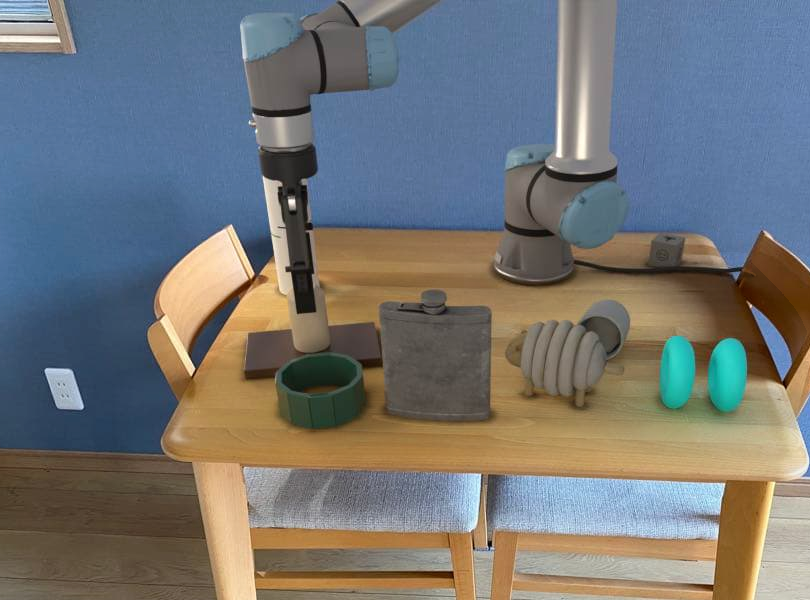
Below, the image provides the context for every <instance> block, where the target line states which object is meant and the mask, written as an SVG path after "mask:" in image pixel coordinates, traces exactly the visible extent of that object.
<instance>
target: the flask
mask: <svg viewBox="0 0 810 600" xmlns="http://www.w3.org/2000/svg"><path fill="white" fill-rule="evenodd" d="M447 301H448V294H447V292H446V291H444V290H442V289H436V288H435V289H427V290H424V291H422V292H421V293H420V302H410V301H409V302H408V301H407V302H406V301H396V300H395V301H394V300H387V301H383V302H380V304H379V305H378V316H379V329H380V343H381V358H382V366H383V367H382V369H383V382H384V394H385V408H386V412H387V414H389V415H391V416H397V417H403V418H409V419H415V420H416V419H418V420H428V421H444V422H477V421H478V422H479V421H485V420H488V419H489V418H490V416H491V381H492V380H491V378H492V377H491V375H492V374H491V372H492V369H491V368H492V315H493V314H492V313H493V311H492V308H491V307H489V306H486V305H446V302H447Z"/></svg>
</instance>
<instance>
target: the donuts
mask: <svg viewBox="0 0 810 600" xmlns="http://www.w3.org/2000/svg"><path fill="white" fill-rule="evenodd" d="M746 353H747V352H746V349H745V347H744V345H743V344H742V342H741V341H740V340H739V339H737V338H733V337H728V338H724V339H722V340H721V341H720V342H719V343H718V344H717V345H715V347H714V349H713V351H712V354H711V356H710V360H709V364H708V372H707V387H708V388H707V389H708V394H709V398H710V400H711V403H712V404H713V406H714V407H715V408H716V409H718V410H719V411H721V412H724V413H729V412H732V411H734V410H736V409H737V408H738V407H739V406H740V404H741V402H742V400H743V397H744V394H745V391H746V390H745V389H746V385H747V375H748V359H747V354H746ZM659 370H660V371H659V392H660V398H661V401H662V403H663V404H664V405H665V407H667V408H669V409H672V410H673V409H674V410H675V409H679V408H681V407H683V406H684V405H685V404H686V403H687V402H688V401H689V399H690V397H691V395H692V392H693V389H694V385H695V384H694V383H695V376H696V356H695V352H694V348H693V346H692V344H691V342H690V341H689V340H688V339H687V337H684V336H682V335H672V336H671V337H669V338H668V339H667V340H666V342H665V343H664V347H663V350H662V354H661V360H660V369H659Z"/></svg>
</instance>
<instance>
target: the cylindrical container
mask: <svg viewBox="0 0 810 600" xmlns="http://www.w3.org/2000/svg"><path fill="white" fill-rule="evenodd" d="M260 147H261V146H260V145H259V146H258V150H259V148H260ZM261 176H262V182H263V188H264V196H265V202H266V209H267V216H268V221H269V229H270V236H271V242H272V246H273V247H272V249H273V255H274V261H275V268H276V274H277V281H278V288H279V292H280V293H281V294H283V295H285V296H287V293H288V292H289V291H290V290H291V289H292V288H293V283H292V277H291V272H286V270H285V267H287V266H290V261H289V253H288V244H287V236H286V227H285V224H284V223H283V220H282V214H281V206H280V205H279V201H278V193H277V192H278V186H282V182H280V181H277V180H275V181H273V180H269V179H267V178H265V177H264V176H263V175H262V174H261ZM302 185H307V192H308V204H307V205H308V206H307V212H308V222H307V223H312V224H313V219H312V211H311V203H310V202H311V201H310V193H309V186H308V185H309V184H308V179H302ZM306 232H309V234H310V242H311V250H312V258H313V266H314V274H312V280H313V283H315V284H316V285H317V286H319V287H320V286H321V285H320V277H319V269H318V262H317V253H316V252H317V251H316V245H315V236H314V229H313V230H308V231H306ZM294 263H295V262H294ZM320 288H321V287H320Z"/></svg>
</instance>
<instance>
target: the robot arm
mask: <svg viewBox="0 0 810 600" xmlns="http://www.w3.org/2000/svg"><path fill="white" fill-rule="evenodd" d="M618 1H619V0H557V12H556V14H557V15H556V18H557V19H556V58H555V59H556V63H555V67H556V68H555V115H554V119H555V122H554V143H533V144H525V145H519V146H516V147H514V148H511V149H509V151H508V152H507V154H506V158H505V166H504V173H505V177H504V178H505V179H504V225H503V232H502V235H501V238H500V241H499V243H498V246H497V248H496V252H495V254H494V259H493V271H494V273H495V274H496V275H497V276H498V277H500V278H501V279H503V280H505V281H508V282H512V283H514V284H519V285H527V286H545V285H547V286H548V285H552V284H558V283H561V282H564V281H566V280H567V279H569V278H570V277H572V276H573V274H574V271H575V270H574V269H575V265H576V266H581V267H586V268H590V269H595V270H599V271H603V272H612V273H622V274H623V273H627V274H651V273H652V274H654V273H667V272H677V271H680V272H681V271H682V272H683V271H684V272H685V271H686V272H688V271H689V272H705V273H718V274H731V273H732V274H733V273H739V272H742V269H743V267H744V266H736V267H731V268H730V267H729V268H721V267H720V268H719V267H706V266H693V265H692V266H690V265H684V266H683V265H678V266H674V267H662V268H659V267H650V268H649V267H648V268H647V267H646V268H637V267H636V268H628V267H614V266H613V267H612V266H607V265H600V264H595V263H591V262H588V261H582V260H578V259H574V255H573V251H572V247H571V245H572V246H574V247H575V248H579V249H582V250H591V249H596V248H599V247H602V246H603V245H605V244H607V243H608V242H610V241H611V240H613V238H614V237H615V235H616V234H617V233H618V232H620V230H621V229H622V227H623V226H624V224H625V223H626V220H627V218H628V214H629V209H630V200H629V196H628V193H627V192H626V190H625V189H624V187H623V186H622V185H621V183H617V179H618V166H619V165H618V163H619V162H618V161H619V160H618V158H617V157H616V156H615V155H614V154H613V153H612V152H611V151H610V141H611V139H610V138H611V122H612V106H613V104H612V103H613V90H614V89H613V88H614V72H615V71H614V69H615V55H616V54H615V52H616V36H617V22H618V21H617V20H618ZM442 2H444V0H338V1H337V2H335V3H333V4H331V5H329V6H328V7H326V8H325V9H323V10H322V11H321V12H314V13H308V14H306V15H305V14H304V15H303V16H301V17H300V16H299V15H298V14H296V13H293V12H258V13H257V12H256V13H253V14H252V13H251V14H248V15H246V16H244V17H243V18H242V19H241V21H240V25H239V26H240V27H239V29H240V38H241V49H242V55H241V57H242V60H243V64H244V70H245V71H244V72H245V76H246V82H247V89H248V94H249V100H250V106H251V112H252V117H253V119H249V121H248V127H250V128H252V129H254V128H255V137H256V138H255V139H256V143H257V144H258V145H259V147H260V146H261V147H260V148H259V147H258V148H259V149H258V150H257V154H258V160H259V168H260V173H261V176H262V175H263V176H264V177H265V178H267V179H269V180H273V181H275V180H277V181H280V182H282V186H278V192H277V193H278V201H279V205H280V206H281V214H282V220H283V223H284V224H285V227H286V236H287V244H288V253H289V261H290V266H287V267H285V270H286V272H291V277H292V283H293V290H294V297H295V304H296V311H297V314H304V313H316V303H315V295H314V288H313V280H312V274H314V266H313V258H312V250H311V242H310V234H309V232H306V231H308V230H313V231H314V226H313V224H314V223H313V222H312V223H307V222H308V212H307V206H308V205H307V204H308V193H309V191H308V192H307V185H302V179H307V180H309V179H310V178H313V177H314V176H316V174H317V173H318V171H319V165H318V156H317V148H316V146H315V145H314V144H313V143H314V141H315V140H316V135H315V127H314V116H313V109H312V104H311V95H322V94H333V93H345V92H358V91H370V92H373V91H374V90H379V89H385V88H390V87H392V86H393V85H394V84H395V83H396V82H397V79H398V76H399V73H400V55H399V54H400V53H399V47H398V44H397V40H396V37H395V35H394V34H396V33H397V32H399V31H400V30H402V29H404V27H406V26H407V25H409V24H410V23H412V22H413V21H415V20H416V19H418V18H419V17H421V16H422V15H424V14H426V13H427V12H428V11H430V10H432V9H433V8H435V7H436V6H438V5H439V4H441V3H442ZM263 176H262V177H263ZM294 262H295V263H294Z"/></svg>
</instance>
